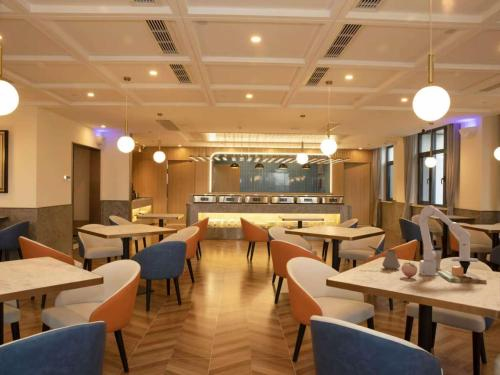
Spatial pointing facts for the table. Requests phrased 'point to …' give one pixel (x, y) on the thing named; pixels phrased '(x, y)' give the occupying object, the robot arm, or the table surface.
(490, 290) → the table surface
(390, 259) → the coffee pot
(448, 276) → the trap board
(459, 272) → the block
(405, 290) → the table surface
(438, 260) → the coffee cup
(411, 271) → the decorative fruit
